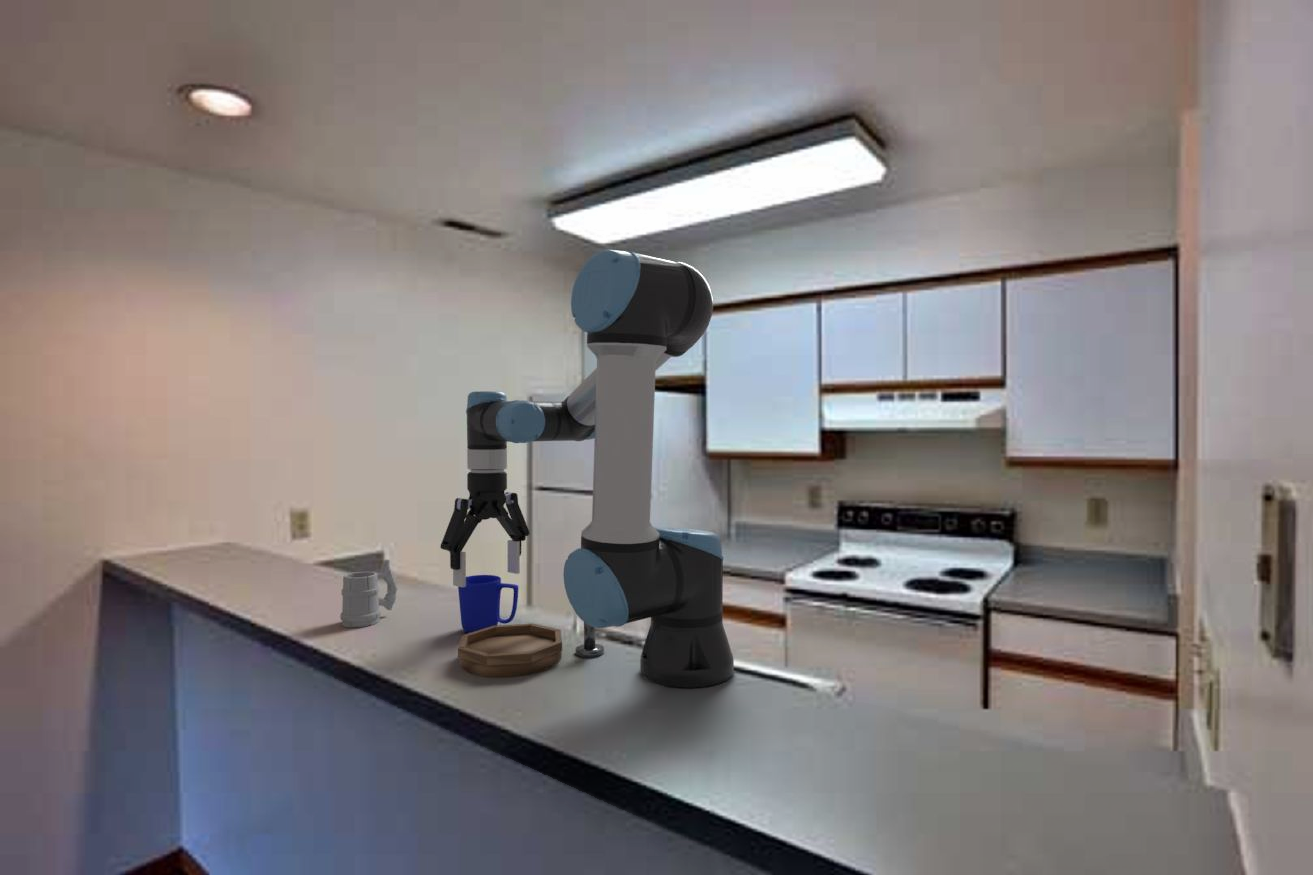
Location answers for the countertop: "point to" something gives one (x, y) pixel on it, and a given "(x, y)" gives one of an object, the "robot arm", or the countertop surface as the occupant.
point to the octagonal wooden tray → (510, 650)
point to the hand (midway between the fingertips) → (487, 579)
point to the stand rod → (589, 644)
